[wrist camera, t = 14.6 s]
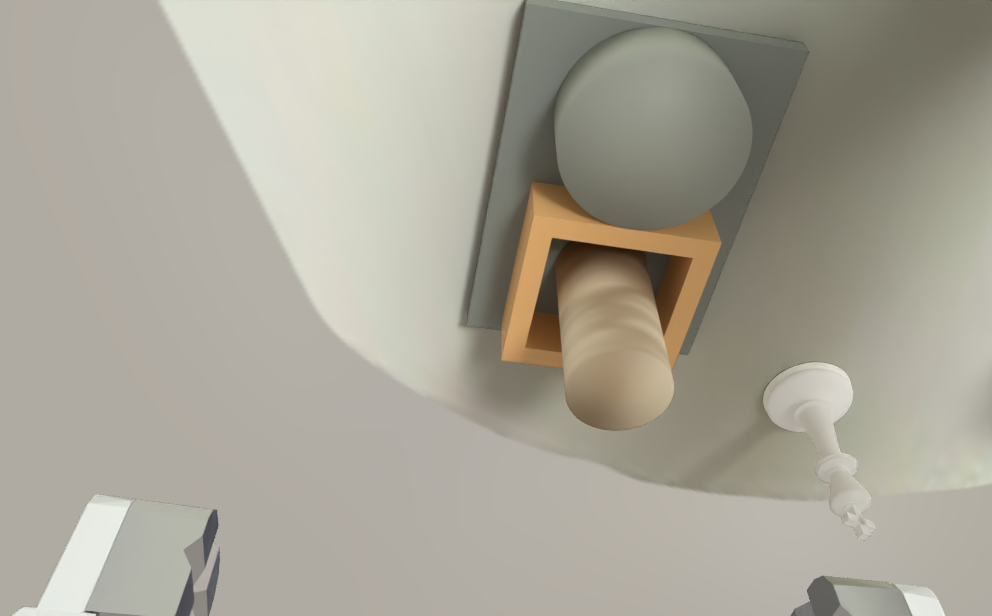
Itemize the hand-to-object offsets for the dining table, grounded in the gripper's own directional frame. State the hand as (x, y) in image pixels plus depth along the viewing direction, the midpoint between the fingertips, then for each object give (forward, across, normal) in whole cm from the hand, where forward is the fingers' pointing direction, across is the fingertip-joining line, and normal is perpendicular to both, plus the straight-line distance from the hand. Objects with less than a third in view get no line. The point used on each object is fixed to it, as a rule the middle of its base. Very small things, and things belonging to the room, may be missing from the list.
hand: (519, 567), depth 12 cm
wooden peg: (+28, -7, +14) cm, 32 cm away
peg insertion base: (+29, -7, +10) cm, 32 cm away
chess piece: (+29, -21, +21) cm, 42 cm away
